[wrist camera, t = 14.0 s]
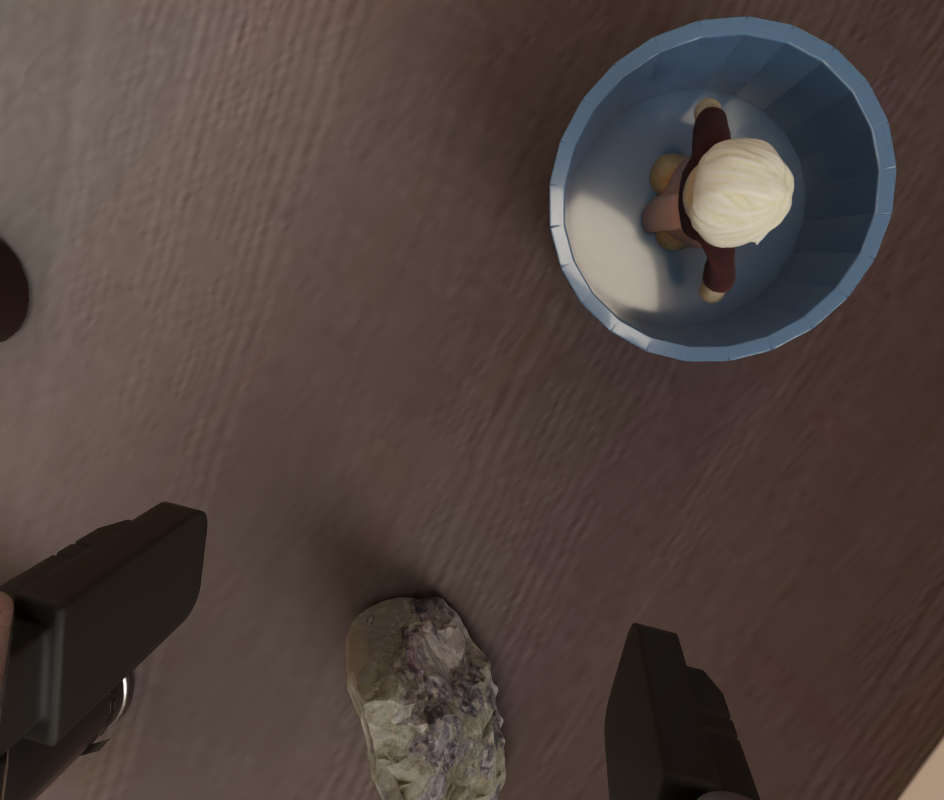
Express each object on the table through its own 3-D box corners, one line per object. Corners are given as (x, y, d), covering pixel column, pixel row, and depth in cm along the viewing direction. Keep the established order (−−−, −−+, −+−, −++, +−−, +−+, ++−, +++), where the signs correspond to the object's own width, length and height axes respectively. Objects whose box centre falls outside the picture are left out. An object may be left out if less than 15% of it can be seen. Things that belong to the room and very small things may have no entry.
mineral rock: (497, 799, 41) (471, 966, 32) (335, 749, 43) (261, 895, 33) (544, 620, 38) (531, 744, 29) (367, 571, 39) (297, 675, 30)
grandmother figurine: (621, 146, 32) (644, 80, 19) (703, 118, 31) (781, 31, 19) (661, 302, 33) (706, 332, 21) (741, 280, 32) (837, 297, 20)
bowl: (531, 302, 34) (515, 318, 26) (594, 55, 31) (597, -14, 23) (764, 361, 33) (823, 396, 25) (853, 108, 30) (952, 55, 22)
